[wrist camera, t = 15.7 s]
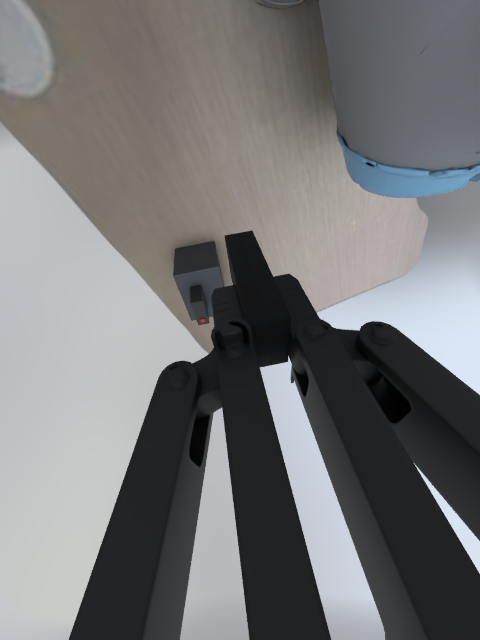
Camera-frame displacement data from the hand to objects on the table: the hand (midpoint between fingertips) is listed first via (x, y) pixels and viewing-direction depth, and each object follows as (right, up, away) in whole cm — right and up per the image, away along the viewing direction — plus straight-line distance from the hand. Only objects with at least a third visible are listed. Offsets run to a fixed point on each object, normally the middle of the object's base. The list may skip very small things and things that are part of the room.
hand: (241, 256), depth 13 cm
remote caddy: (-7, +6, +31) cm, 32 cm away
